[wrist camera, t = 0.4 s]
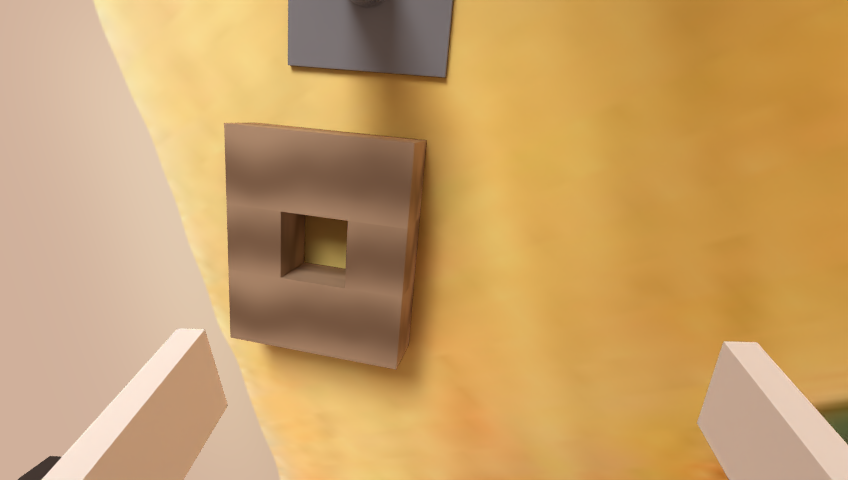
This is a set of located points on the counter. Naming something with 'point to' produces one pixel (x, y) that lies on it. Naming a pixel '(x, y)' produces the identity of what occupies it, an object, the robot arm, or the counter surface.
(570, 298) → the counter surface
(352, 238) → the socket block
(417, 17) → the rubber mat
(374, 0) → the metal pin
